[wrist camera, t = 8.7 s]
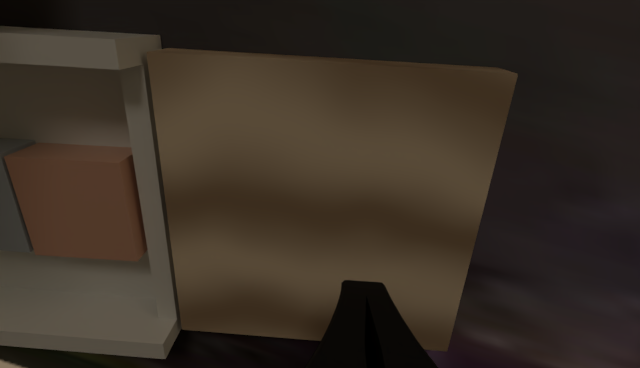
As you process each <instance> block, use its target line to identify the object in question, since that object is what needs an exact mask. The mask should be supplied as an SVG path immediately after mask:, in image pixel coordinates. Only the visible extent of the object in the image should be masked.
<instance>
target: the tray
mask: <svg viewBox="0 0 640 368" xmlns="http://www.w3.org/2000/svg"><path fill="white" fill-rule="evenodd" d="M160 49H162V46H161V37H160V35H148V34H131V33H114V32H97V31H80V30H62V29H45V28H28V27H11V26H0V138H12V139H27V140H35V143H57V144H76V145H95V146H114V147H131V148H132V155H133V161H134V167H135V173H136V180H137V186H138V192H139V199H140V205H141V211H142V218H143V224H144V230H145V236H146V243H147V249H148V250H147V251H146V252H145V253H144V255H143V256H142V257H141V258H140V259H139V260H138V261H122V260H107V259H91V258H75V257H59V256H44V255H35V252H34V250H33V251H32V252H30V253H28V252H15V251H2V250H0V345H3V346H15V347H27V348H39V349H51V350H63V351H74V352H86V353H98V354H110V355H122V356H133V357H145V358H157V359H166V357H167V355H168V353H169V351H170V349H171V347H172V345H173V343H174V342H175V340H176V338H177V336H178V334H179V332H180V330H181V328H182V326H181V319H180V311H179V303H178V295H177V287H176V279H175V272H174V264H173V256H172V248H171V240H170V233H169V225H168V217H167V209H166V201H165V194H164V186H163V178H162V170H161V162H160V155H159V147H158V139H157V131H156V123H155V116H154V108H153V100H152V92H151V84H150V77H149V69H148V61H147V53H146V52H148V51H154V50H160Z"/></svg>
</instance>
